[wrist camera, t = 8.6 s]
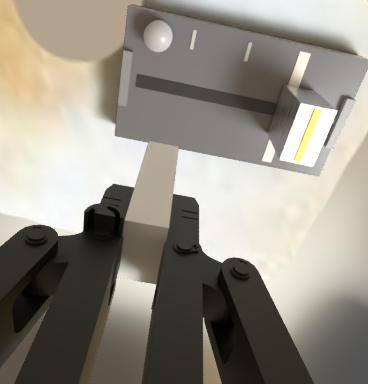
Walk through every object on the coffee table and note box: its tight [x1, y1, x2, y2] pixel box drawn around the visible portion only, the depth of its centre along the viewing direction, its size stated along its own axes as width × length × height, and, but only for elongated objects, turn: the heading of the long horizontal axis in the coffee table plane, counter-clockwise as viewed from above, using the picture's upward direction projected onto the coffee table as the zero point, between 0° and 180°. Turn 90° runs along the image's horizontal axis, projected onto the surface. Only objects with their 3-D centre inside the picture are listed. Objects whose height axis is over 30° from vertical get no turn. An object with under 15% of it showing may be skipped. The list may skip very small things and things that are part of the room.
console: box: [115, 5, 368, 176], centre depth 34 cm, size 12×22×4 cm, turn 79°
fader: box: [267, 84, 337, 167], centre depth 31 cm, size 5×3×6 cm, turn 169°
